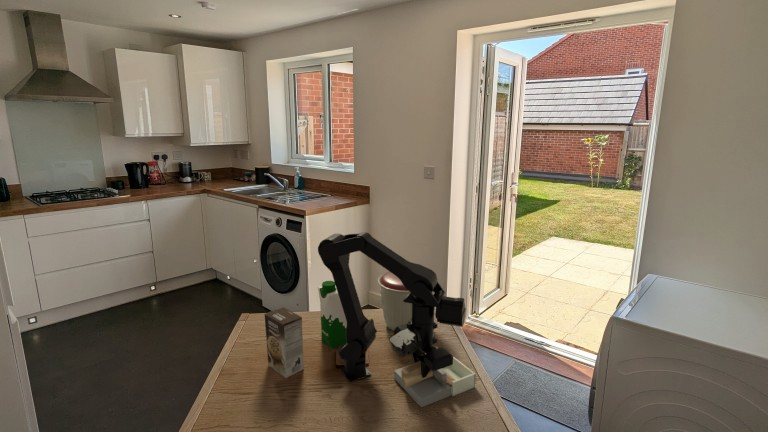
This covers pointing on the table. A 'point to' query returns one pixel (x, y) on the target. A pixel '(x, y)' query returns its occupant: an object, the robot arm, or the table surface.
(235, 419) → the table surface
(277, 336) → the coffee box
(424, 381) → the grey stepped riser
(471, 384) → the tray
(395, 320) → the canister
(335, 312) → the milk carton
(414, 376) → the scraper
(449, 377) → the tile terracotta
